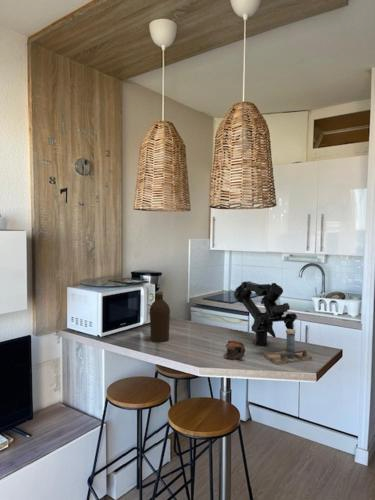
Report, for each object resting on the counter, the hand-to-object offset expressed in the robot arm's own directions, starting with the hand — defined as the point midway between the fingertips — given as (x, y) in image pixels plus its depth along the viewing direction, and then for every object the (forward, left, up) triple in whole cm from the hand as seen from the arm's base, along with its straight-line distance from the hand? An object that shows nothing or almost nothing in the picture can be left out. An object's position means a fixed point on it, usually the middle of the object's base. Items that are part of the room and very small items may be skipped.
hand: (283, 336), depth 165 cm
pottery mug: (+8, -20, -9) cm, 24 cm away
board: (+2, +2, -9) cm, 10 cm away
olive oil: (-7, -63, -9) cm, 64 cm away
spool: (+4, +3, -9) cm, 10 cm away
